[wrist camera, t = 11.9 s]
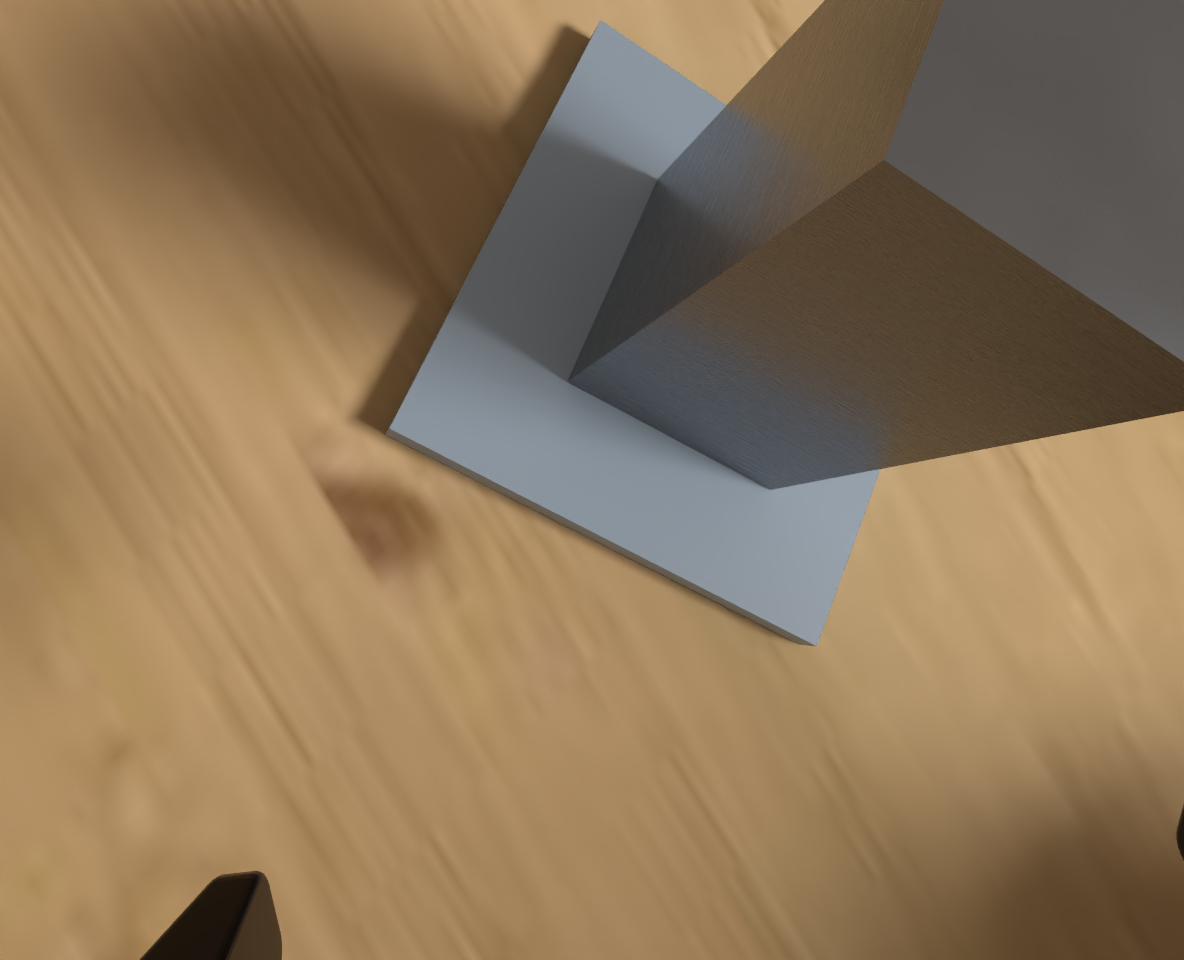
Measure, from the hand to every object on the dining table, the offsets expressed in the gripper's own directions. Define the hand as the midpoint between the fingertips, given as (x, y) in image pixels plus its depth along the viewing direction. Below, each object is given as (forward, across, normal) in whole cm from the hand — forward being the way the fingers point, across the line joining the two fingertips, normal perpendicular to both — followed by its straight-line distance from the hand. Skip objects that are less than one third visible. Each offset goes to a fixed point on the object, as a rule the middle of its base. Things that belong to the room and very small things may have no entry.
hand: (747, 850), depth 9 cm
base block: (+17, -3, 0) cm, 17 cm away
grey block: (+16, -3, -1) cm, 16 cm away
